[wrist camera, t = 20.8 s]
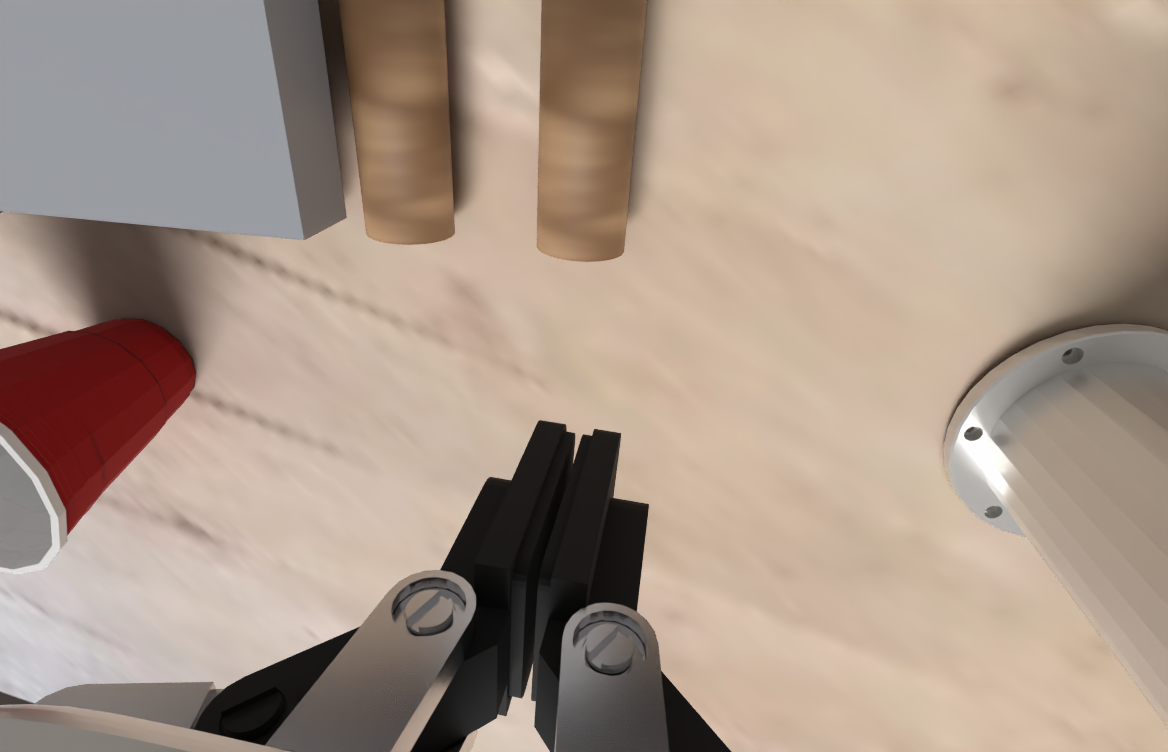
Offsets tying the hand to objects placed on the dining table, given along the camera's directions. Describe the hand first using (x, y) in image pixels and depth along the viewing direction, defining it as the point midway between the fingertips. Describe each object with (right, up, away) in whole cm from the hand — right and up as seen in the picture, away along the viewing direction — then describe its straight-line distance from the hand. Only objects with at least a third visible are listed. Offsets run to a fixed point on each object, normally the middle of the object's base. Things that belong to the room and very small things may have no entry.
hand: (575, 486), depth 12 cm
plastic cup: (-26, +3, +24) cm, 36 cm away
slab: (-18, +14, +12) cm, 26 cm away
